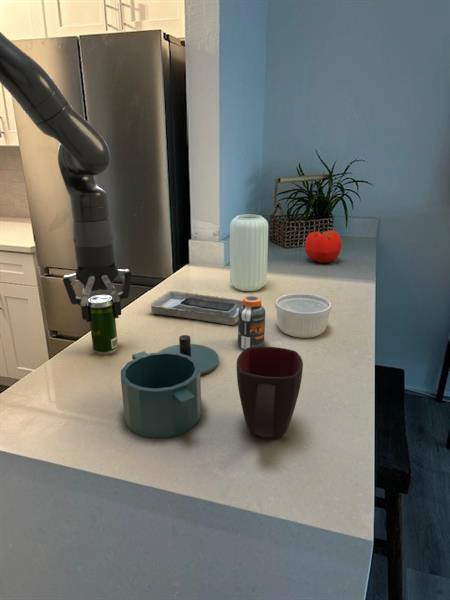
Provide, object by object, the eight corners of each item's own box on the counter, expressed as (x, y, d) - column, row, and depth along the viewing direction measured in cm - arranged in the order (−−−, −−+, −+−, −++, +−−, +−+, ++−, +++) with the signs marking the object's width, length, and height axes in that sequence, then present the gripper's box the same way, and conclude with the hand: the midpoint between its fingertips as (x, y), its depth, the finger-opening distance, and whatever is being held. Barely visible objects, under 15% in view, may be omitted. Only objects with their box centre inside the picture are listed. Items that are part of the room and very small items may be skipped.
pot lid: (172, 387, 80) (170, 359, 78) (141, 359, 91) (139, 333, 89) (231, 367, 88) (231, 340, 86) (196, 343, 98) (196, 319, 96)
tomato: (333, 256, 171) (335, 226, 167) (344, 266, 158) (347, 234, 153) (300, 257, 170) (301, 227, 166) (308, 266, 157) (310, 235, 153)
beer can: (122, 345, 97) (117, 295, 93) (112, 356, 92) (107, 303, 88) (99, 343, 98) (93, 294, 94) (89, 354, 93) (82, 302, 89)
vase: (253, 296, 128) (254, 221, 120) (222, 288, 134) (222, 217, 126) (273, 286, 136) (275, 215, 129) (243, 279, 143) (244, 212, 135)
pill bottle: (251, 353, 93) (252, 305, 89) (232, 345, 97) (232, 297, 93) (269, 345, 97) (271, 298, 93) (250, 337, 101) (251, 291, 97)
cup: (299, 412, 73) (303, 348, 69) (297, 470, 60) (302, 396, 56) (241, 406, 74) (241, 344, 70) (227, 462, 62) (227, 389, 57)
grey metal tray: (170, 299, 126) (169, 289, 125) (252, 308, 118) (252, 298, 117) (148, 315, 114) (147, 305, 113) (237, 327, 106) (237, 316, 105)
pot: (152, 459, 62) (148, 409, 59) (108, 401, 76) (103, 358, 73) (224, 428, 69) (224, 381, 66) (171, 380, 83) (169, 340, 80)
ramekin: (322, 344, 97) (324, 316, 94) (266, 334, 102) (267, 307, 100) (334, 323, 108) (336, 297, 106) (283, 315, 113) (284, 290, 111)
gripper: (127, 235, 92) (133, 308, 98) (56, 240, 88) (67, 317, 94) (132, 242, 86) (138, 320, 91) (55, 248, 81) (67, 330, 87)
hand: (102, 318), depth 93 cm, fingers closed on beer can, 5 cm apart
